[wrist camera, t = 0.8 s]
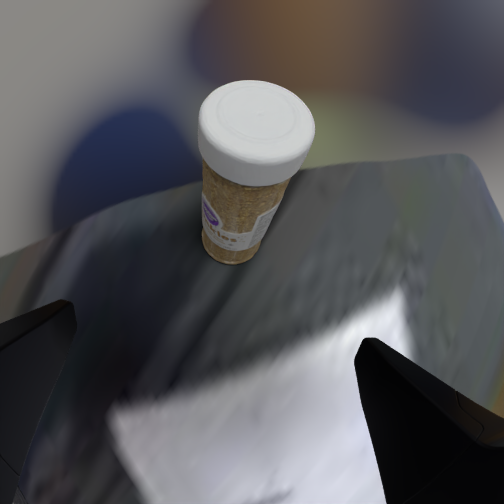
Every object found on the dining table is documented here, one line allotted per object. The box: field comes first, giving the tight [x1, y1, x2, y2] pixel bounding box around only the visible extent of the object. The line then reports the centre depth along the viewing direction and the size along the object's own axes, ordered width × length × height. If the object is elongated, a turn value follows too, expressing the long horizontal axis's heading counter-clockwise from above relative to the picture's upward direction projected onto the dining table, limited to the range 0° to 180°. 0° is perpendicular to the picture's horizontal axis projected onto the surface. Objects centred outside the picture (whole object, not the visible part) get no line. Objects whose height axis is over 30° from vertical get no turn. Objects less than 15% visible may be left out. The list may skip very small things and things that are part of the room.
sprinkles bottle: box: [198, 80, 315, 264], centre depth 16 cm, size 5×5×14 cm
